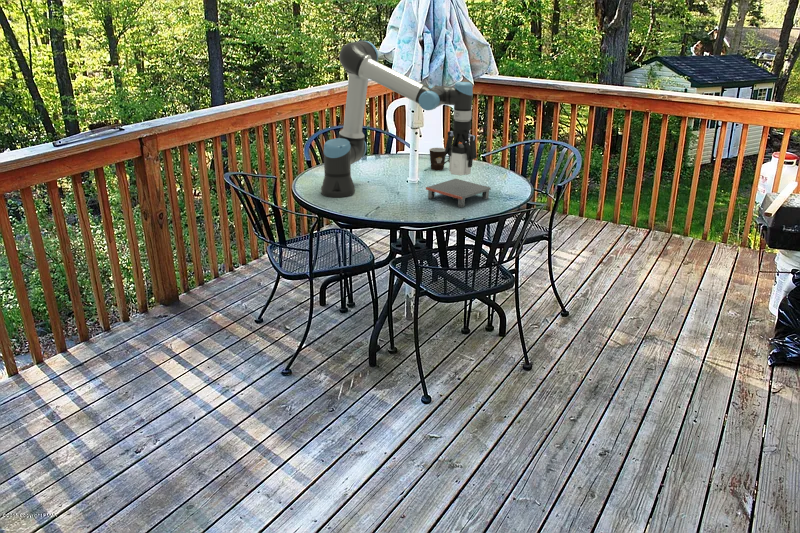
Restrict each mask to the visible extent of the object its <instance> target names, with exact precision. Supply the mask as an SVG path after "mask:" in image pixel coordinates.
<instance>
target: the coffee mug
mask: <svg viewBox="0 0 800 533" xmlns="http://www.w3.org/2000/svg"><path fill="white" fill-rule="evenodd" d="M445 149H446V148H445V147H444V148H443V147H430V148H429V158H430V159H429V161H430V170H432V171H437V170H439V171H444V169H445V168H444V167H445V165H446V164H447V163H449V162H448V159H447V160H446V157H447V155H448V154H447V153H445Z"/></svg>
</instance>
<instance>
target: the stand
mask: <svg viewBox="0 0 800 533" xmlns="http://www.w3.org/2000/svg"><path fill="white" fill-rule="evenodd" d="M425 190H426V191H427V192H428V194H427V198H428V199H430V200H433V199H435V196H436V195H435V194H436V193H437V194H440V195H444V196H447V197H452V199H453V200H455V201H458V202H457V207H458V208H465V205H466V204H465V202H466V201H465V200H466V198H470V197H473V196H477V195H479V194H482V195H481V199H483V200H488V199H489V195H490V190H491V191H492V188H491V187H490V186H486V185H482V184H478V183H475V182H472V181H467V180H462V179H460V178H459V179H458V178H453V179H450V180H446V181H443V182H440V183H436V184H433V185H430V186H426V187H425Z"/></svg>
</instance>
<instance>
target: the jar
mask: <svg viewBox="0 0 800 533" xmlns="http://www.w3.org/2000/svg"><path fill="white" fill-rule="evenodd" d="M467 159H468V158H467V155H466V148H465V147H464V145H463V144H462V143H458V144H457V145H452V146H451V163H450V171H449V172H450V174H451V175H455V176H466V175H465V171H466V160H467Z"/></svg>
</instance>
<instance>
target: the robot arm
mask: <svg viewBox="0 0 800 533" xmlns="http://www.w3.org/2000/svg"><path fill="white" fill-rule="evenodd" d="M338 57H339V62H340V65H341V67H343V69H345V72H346V74H347V75H348V82H347V83H348V84H347V93H346V100H345V101H346V102H345V109H344V116H343V127H342V129H341V130H339V132H338V138H337V137H336V138H331V139H327V141H325V142H324V144H323V164H324V165H323V166H324V167H323V168H324V170H323V172H324V178H323V180H322V185H321V188H320V191H321V192H320V193H321V195H323V196H325V197H330V198H345V197H350V196H353V195H354V194H355V192H356V189H355V188H356V187H355V185H354V181H353V179H352V176H351V173H352V172H351V167H352V166H351V165H352V164H353V165H354V163H357V162H359V161H360V160H362V159H363V157H364V156H365V155H366V153H367V143H366V141H365V134H364V132H363V126H364V116H365V111H366V110H365V109H366V102H367V93H368V84H369V80H371V81H372V82H374V83H377V84H379V85H380V86H382V87H385V88H387V89H389V90H391V91H393V92H395V93H396V94H399V95H401V96H402V97H405V98H406V99H408V100H411V101H413V102H414V103H417V104H419V106H420V108H421V109H422V110H425V111H432V110H435V109H437V108H438V107H441V106H443V105H446V106H453V121H452V125H453V126H452V129H453V130H450V131H447V140H446V146H445V148H444V149H445V153H447V155H448V159H447V160H448V162H447V163H449V165H448V166H449V167H448V168H449V170H448V171H449V172H450V163H451V146H452V145H457V144H463V145H464V147H465V148H466V155H467V158H468V159H467V160H466V171H465V175H464V176H467V175H468V176H469V175H471V170H472V167H473V160H475V159H478V158H477V157H478V156H477V155H478V154H477V146H476V145H477V144H476V138H477V136H476V135H475V134H474V135H473V134H471V128H472V121H471V120H472V113H473V112H472V110H473V109H472V108H473V96H474V94H473V90H474V88H473V84H472V83H471V82H469V81H457V82H455V83H454V86H446V85H437V84H436V85H428V86H426V85H424V84H422V83H421V82H419V81H416V80H415V79H412V78H410V77H408V76H407V75H404V74H403V73H401V72H398V71H397V70H395V69H392V68H391V67H388V66H386V65H384V64H383V63H380V62H379V51H378V49H377V47H376V46H375V45H374V44H373V43H372V42H371V41H368V40H358V41H354V42H348V43H346V44H345V45H343V46H342V47H341V49H340V51H339V56H338Z"/></svg>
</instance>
